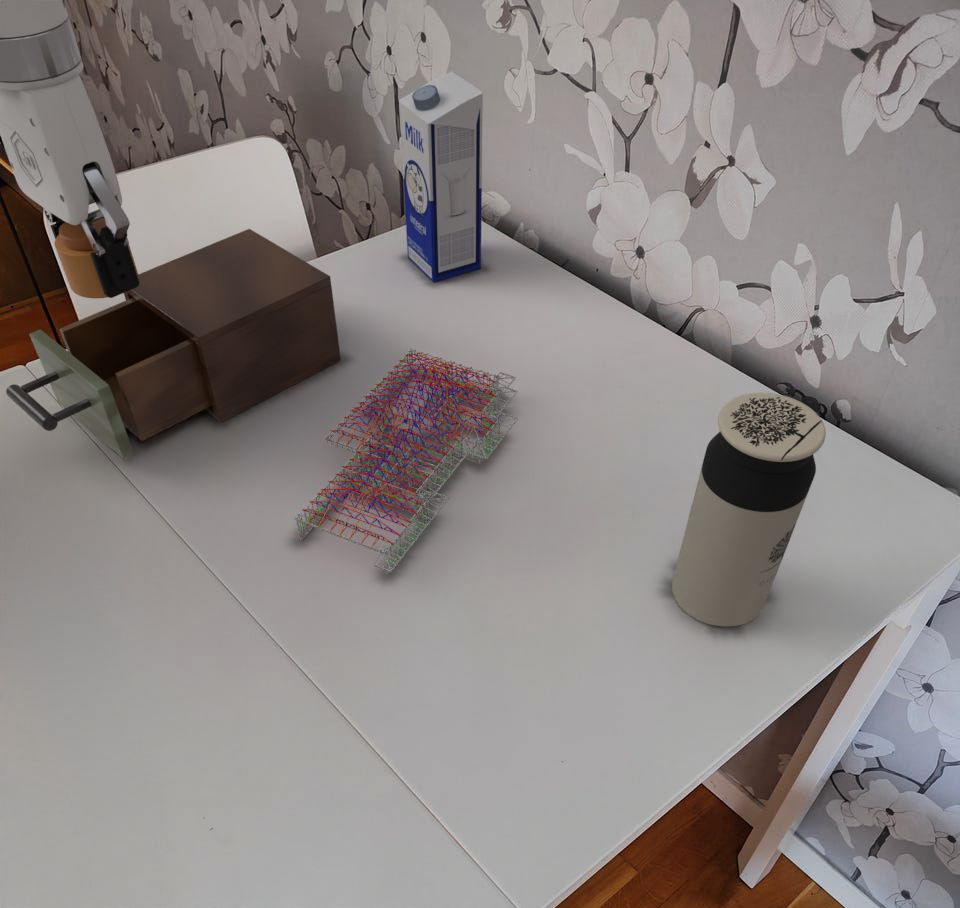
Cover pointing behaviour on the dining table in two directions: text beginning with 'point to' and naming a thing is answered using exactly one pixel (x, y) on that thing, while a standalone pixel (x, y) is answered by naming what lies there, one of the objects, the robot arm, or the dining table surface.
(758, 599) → the travel mug
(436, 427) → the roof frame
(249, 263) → the cabinet
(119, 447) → the drawer
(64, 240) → the small lidded canister
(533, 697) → the dining table surface
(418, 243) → the milk carton
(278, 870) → the dining table surface
